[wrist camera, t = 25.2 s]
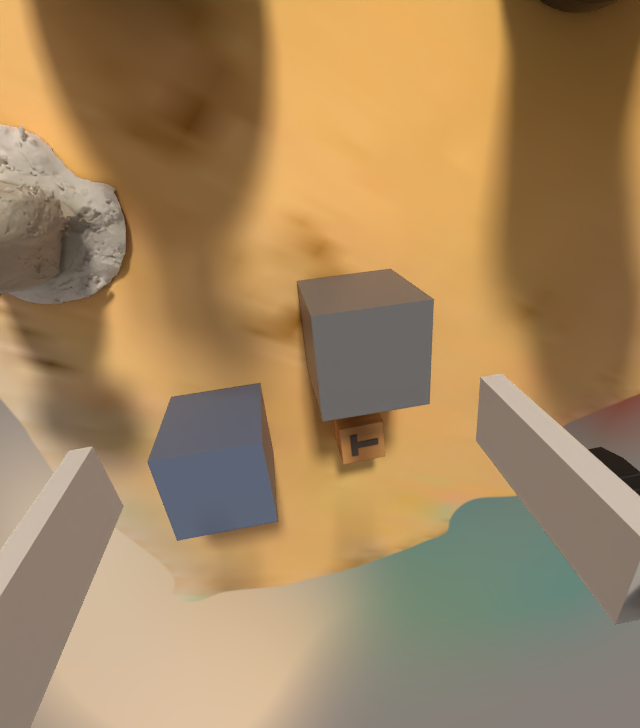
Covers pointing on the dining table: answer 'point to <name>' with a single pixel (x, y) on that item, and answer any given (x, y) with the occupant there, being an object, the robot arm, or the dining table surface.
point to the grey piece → (54, 225)
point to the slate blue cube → (215, 462)
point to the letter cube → (360, 437)
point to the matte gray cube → (366, 342)
